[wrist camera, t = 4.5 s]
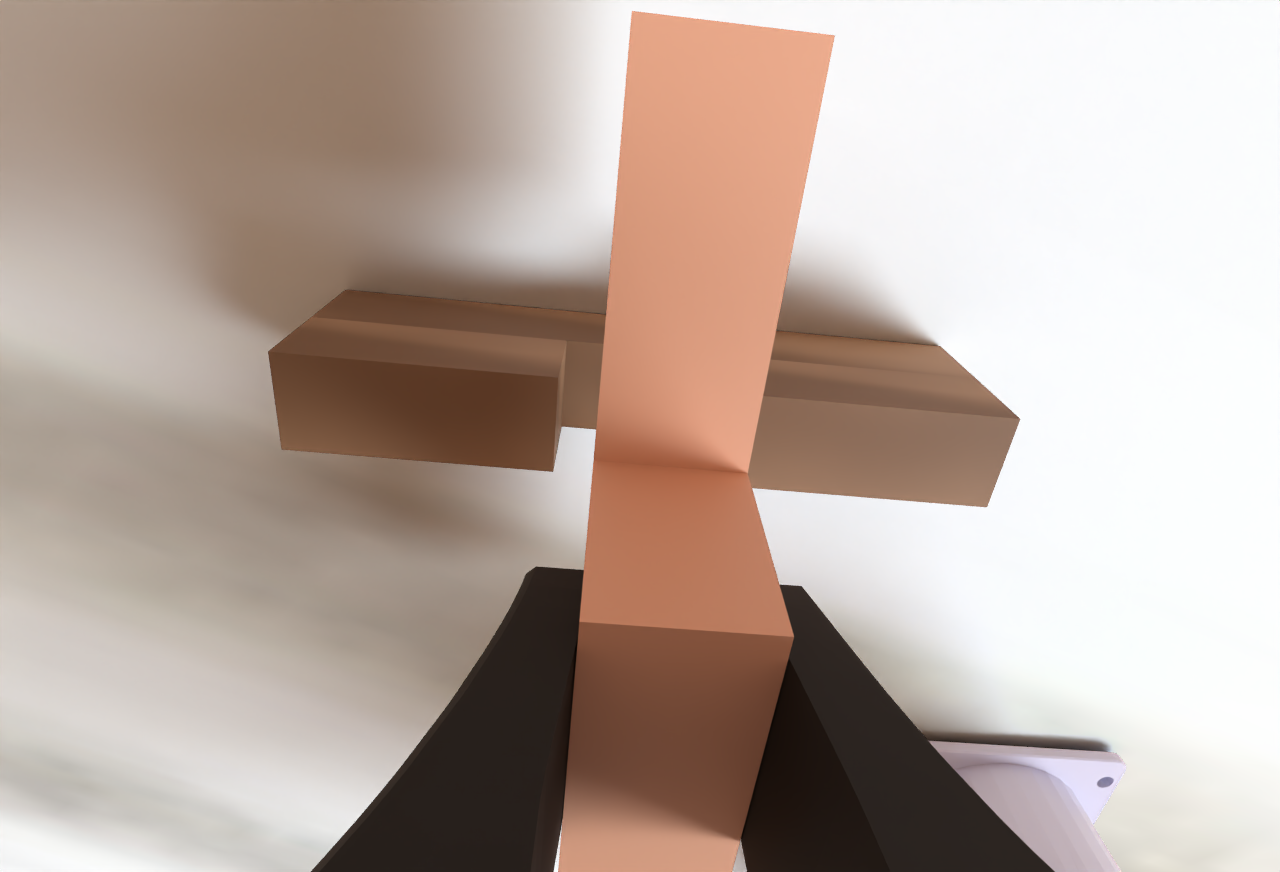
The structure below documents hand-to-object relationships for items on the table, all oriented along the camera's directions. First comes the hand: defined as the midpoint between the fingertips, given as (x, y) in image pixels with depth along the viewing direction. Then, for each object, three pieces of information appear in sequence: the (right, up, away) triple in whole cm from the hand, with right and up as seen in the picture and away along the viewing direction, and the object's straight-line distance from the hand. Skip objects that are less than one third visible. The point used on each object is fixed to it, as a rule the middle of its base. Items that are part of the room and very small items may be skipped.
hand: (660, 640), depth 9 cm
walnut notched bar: (0, +4, +9) cm, 10 cm away
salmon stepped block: (0, +2, +5) cm, 5 cm away
